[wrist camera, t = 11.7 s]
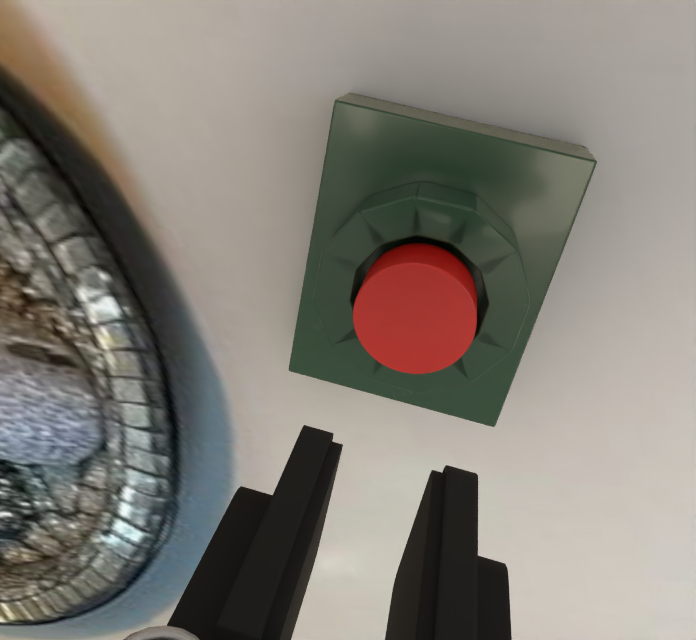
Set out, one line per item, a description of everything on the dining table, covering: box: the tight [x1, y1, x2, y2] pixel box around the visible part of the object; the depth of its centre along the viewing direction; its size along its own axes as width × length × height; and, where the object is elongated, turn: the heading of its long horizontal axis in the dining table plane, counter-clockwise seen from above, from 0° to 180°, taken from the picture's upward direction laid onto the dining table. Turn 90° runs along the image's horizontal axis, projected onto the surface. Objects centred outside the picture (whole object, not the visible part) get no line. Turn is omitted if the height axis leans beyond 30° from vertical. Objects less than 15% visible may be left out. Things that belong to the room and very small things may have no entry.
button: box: [353, 243, 477, 374], centre depth 18 cm, size 4×4×2 cm
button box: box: [289, 93, 597, 427], centre depth 20 cm, size 10×8×4 cm
